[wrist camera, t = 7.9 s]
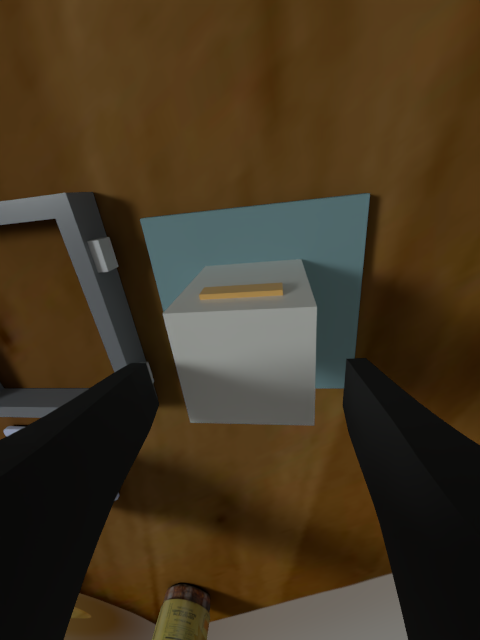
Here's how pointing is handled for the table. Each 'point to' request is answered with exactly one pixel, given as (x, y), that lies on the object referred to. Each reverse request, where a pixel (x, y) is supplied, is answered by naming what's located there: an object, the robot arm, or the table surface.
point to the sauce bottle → (183, 614)
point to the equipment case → (96, 281)
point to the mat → (276, 259)
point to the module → (246, 344)
